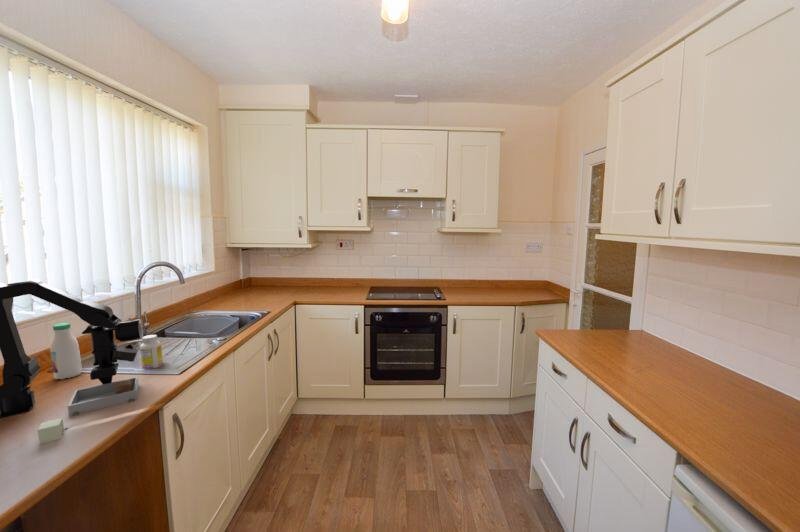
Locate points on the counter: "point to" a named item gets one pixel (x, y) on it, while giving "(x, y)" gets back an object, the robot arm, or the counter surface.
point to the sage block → (50, 430)
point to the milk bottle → (65, 353)
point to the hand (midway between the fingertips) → (108, 388)
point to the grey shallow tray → (100, 397)
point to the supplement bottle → (151, 352)
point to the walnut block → (123, 387)
